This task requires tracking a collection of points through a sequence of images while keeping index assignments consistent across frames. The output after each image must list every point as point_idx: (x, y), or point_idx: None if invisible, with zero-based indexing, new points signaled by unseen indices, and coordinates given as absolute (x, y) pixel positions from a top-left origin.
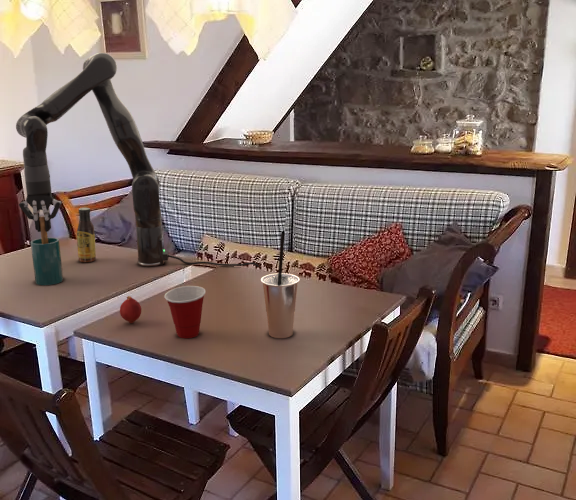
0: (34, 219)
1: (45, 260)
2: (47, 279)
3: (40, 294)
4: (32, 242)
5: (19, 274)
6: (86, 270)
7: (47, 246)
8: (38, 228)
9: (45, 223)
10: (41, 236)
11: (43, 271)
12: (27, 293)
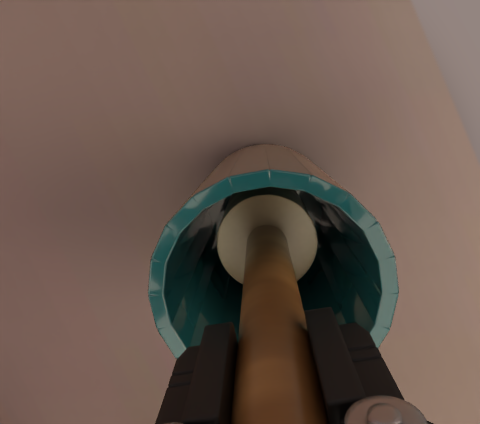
0: (407, 414)
1: (235, 160)
2: (242, 149)
3: (217, 4)
4: (366, 237)
5: (456, 296)
6: (164, 362)
7: (201, 188)
8: (319, 325)
9: (211, 386)
10: (290, 292)
11: (257, 149)
12: (291, 14)
